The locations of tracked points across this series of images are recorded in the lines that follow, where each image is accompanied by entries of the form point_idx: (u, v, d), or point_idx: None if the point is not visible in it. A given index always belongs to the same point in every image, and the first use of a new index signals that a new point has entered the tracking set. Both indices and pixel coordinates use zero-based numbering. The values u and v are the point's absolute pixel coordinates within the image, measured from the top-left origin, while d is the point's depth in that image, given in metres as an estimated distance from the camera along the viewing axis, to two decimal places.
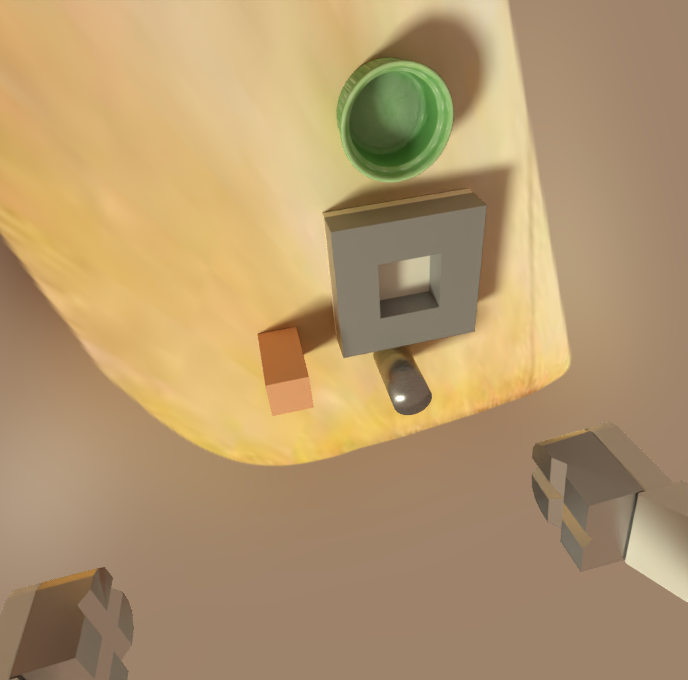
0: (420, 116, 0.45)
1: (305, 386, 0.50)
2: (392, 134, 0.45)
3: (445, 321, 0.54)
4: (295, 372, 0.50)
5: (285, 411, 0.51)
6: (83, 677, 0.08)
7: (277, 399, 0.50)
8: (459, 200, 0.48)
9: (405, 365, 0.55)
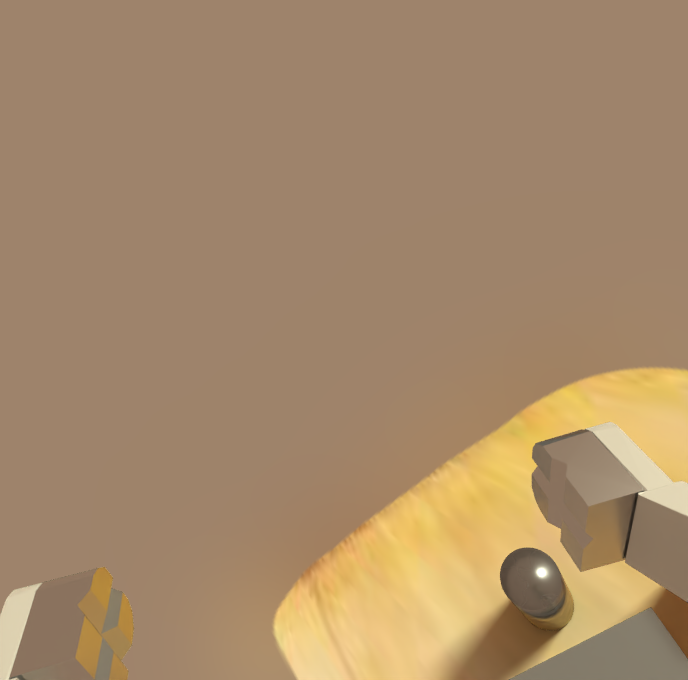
0: None
1: None
2: None
3: None
4: None
5: None
6: (84, 678, 0.08)
7: None
8: None
9: (550, 617, 0.38)
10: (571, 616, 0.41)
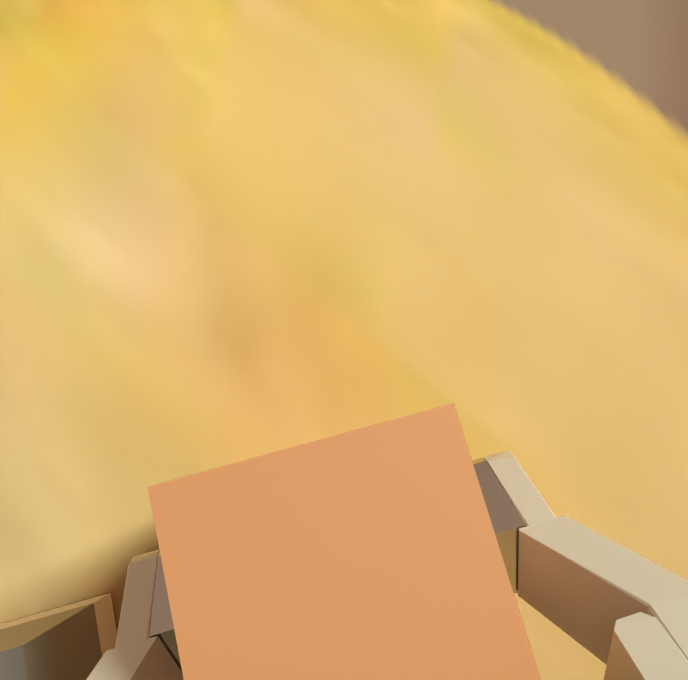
0: None
1: None
2: None
3: None
4: None
5: (365, 451, 0.07)
6: None
7: (438, 580, 0.06)
8: None
9: None
10: None
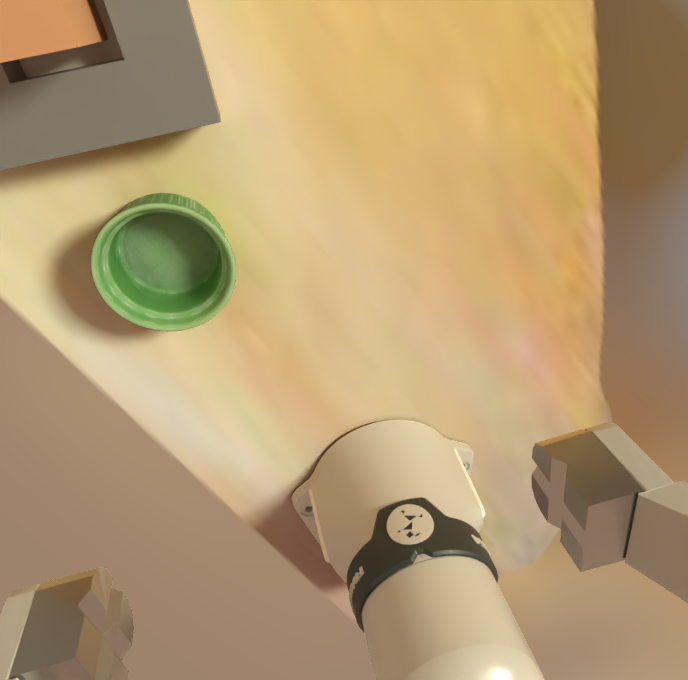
0: (122, 250, 0.37)
1: None
2: (151, 227, 0.37)
3: None
4: None
5: None
6: (84, 677, 0.08)
7: None
8: None
9: None
10: None
